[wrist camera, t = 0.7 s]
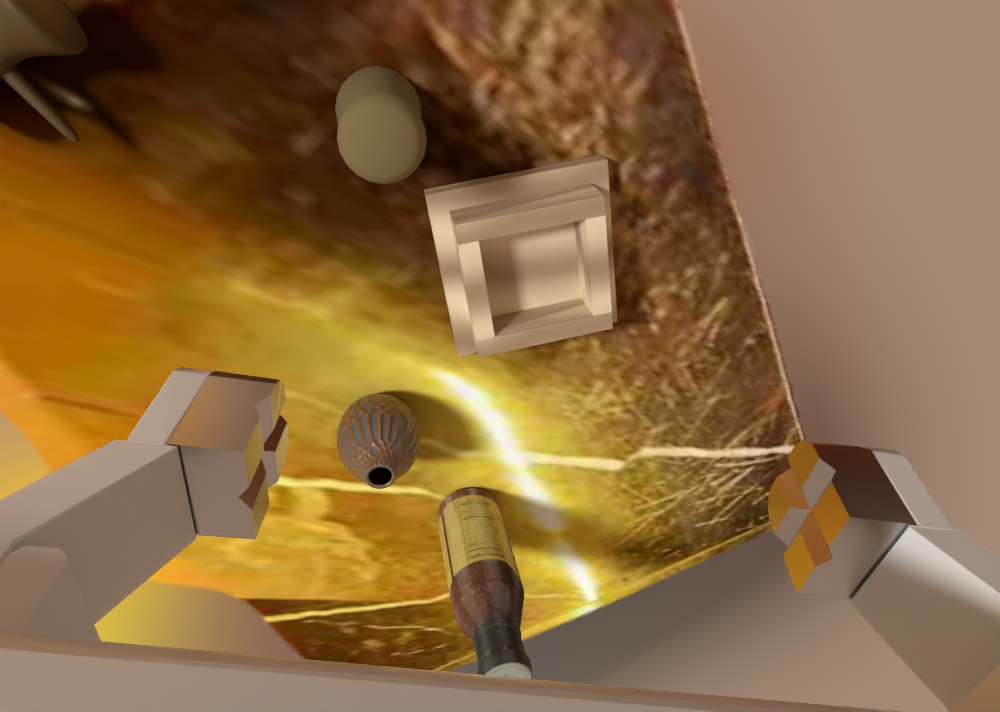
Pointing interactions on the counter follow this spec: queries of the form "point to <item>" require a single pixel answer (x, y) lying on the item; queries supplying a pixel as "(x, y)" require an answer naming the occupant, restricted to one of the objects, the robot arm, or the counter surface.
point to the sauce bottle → (484, 581)
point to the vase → (378, 439)
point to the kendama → (37, 47)
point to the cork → (380, 125)
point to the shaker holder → (526, 255)
